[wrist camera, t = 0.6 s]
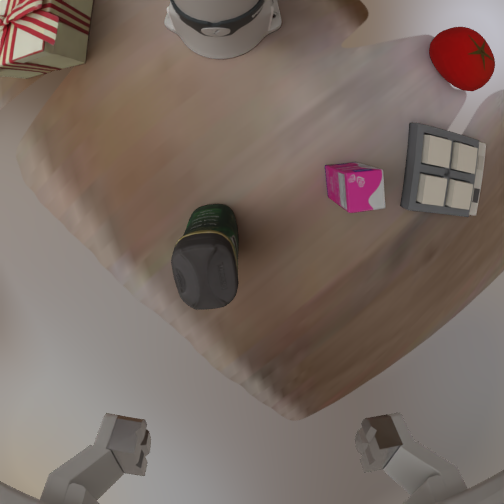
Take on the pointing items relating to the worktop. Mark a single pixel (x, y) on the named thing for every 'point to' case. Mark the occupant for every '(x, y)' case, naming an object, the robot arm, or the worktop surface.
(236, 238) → the coffee jar
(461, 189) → the button
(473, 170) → the button
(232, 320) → the worktop surface
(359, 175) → the supplement box
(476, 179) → the button board
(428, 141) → the button
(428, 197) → the button
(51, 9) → the gift box
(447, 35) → the tomato
